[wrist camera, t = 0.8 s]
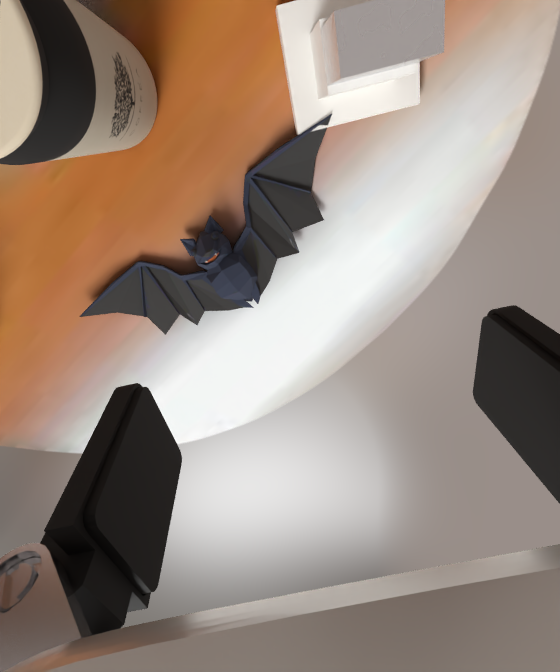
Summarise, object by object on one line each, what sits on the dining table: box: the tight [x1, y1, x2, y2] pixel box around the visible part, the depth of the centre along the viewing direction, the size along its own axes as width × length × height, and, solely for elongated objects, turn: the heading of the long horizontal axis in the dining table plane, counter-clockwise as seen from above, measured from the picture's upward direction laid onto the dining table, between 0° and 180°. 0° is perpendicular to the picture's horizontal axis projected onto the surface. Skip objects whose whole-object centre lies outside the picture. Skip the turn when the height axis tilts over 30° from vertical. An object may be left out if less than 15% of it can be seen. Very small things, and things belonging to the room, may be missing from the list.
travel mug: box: [0, 0, 157, 165], centre depth 19 cm, size 8×8×18 cm
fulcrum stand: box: [276, 0, 445, 135], centre depth 23 cm, size 8×10×9 cm
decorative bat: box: [80, 114, 332, 335], centre depth 33 cm, size 30×4×10 cm
